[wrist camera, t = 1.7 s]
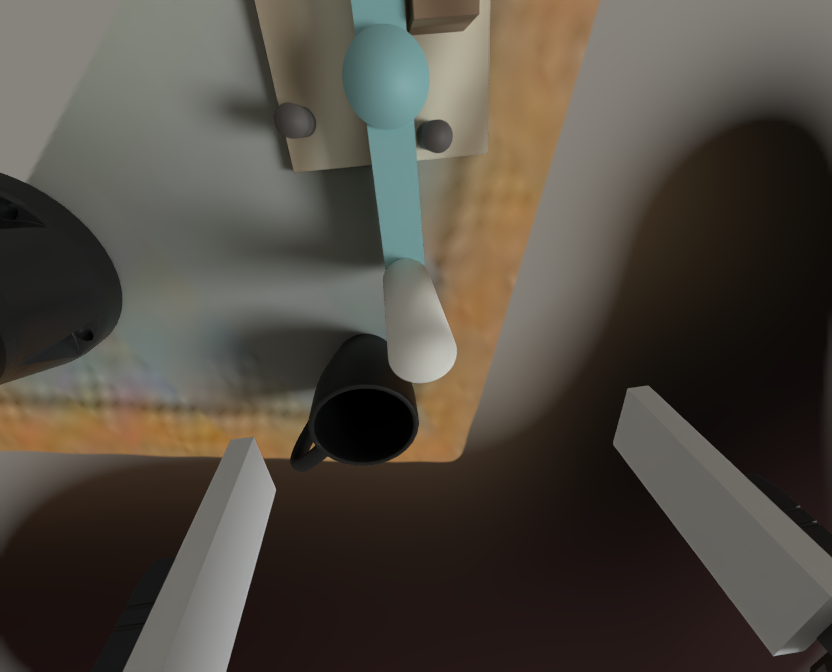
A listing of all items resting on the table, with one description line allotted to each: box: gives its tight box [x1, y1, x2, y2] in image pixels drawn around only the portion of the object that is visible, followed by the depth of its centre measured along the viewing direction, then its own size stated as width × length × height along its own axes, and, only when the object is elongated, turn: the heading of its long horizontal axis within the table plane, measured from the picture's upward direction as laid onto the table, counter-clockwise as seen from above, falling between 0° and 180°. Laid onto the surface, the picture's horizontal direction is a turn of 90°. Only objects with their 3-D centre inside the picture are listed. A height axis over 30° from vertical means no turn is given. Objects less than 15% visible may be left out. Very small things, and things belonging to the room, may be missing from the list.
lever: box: [342, 0, 457, 383], centre depth 19 cm, size 5×21×13 cm, turn 5°
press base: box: [255, 0, 490, 173], centre depth 22 cm, size 14×11×5 cm
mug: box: [290, 334, 419, 472], centre depth 32 cm, size 8×12×10 cm
